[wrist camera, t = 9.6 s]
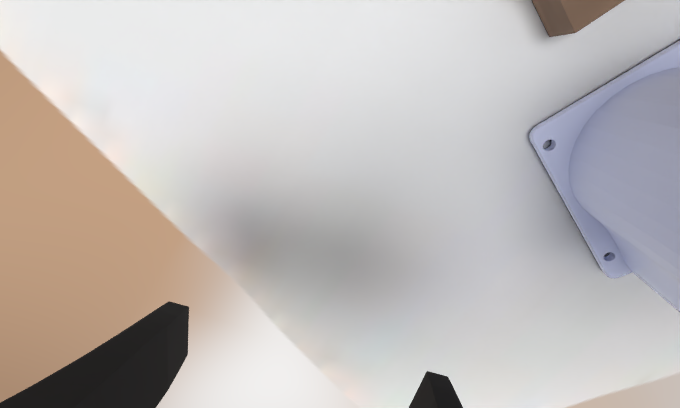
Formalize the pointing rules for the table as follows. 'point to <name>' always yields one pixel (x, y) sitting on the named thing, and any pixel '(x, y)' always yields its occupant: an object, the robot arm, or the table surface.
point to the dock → (571, 14)
